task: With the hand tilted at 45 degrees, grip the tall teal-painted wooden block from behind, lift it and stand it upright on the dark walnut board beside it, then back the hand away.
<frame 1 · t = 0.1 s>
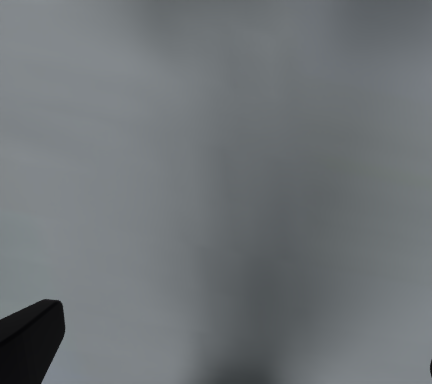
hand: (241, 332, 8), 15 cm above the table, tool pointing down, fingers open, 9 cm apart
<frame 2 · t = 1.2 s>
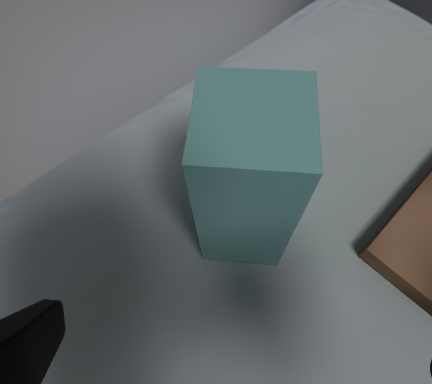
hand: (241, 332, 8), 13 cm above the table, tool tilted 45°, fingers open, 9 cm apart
teal block: (241, 227, 24), on the table
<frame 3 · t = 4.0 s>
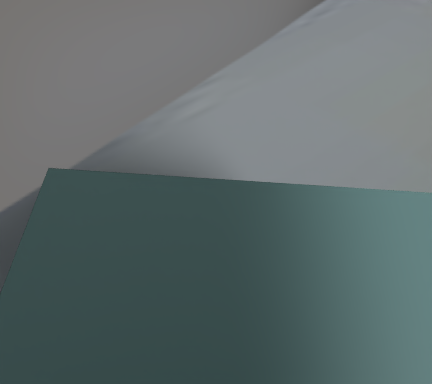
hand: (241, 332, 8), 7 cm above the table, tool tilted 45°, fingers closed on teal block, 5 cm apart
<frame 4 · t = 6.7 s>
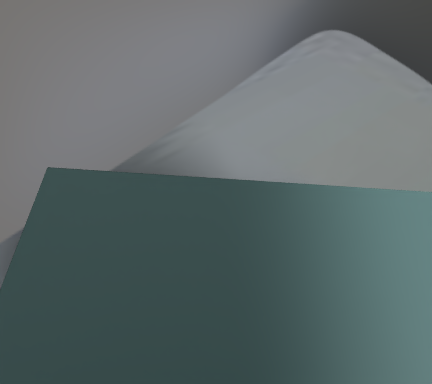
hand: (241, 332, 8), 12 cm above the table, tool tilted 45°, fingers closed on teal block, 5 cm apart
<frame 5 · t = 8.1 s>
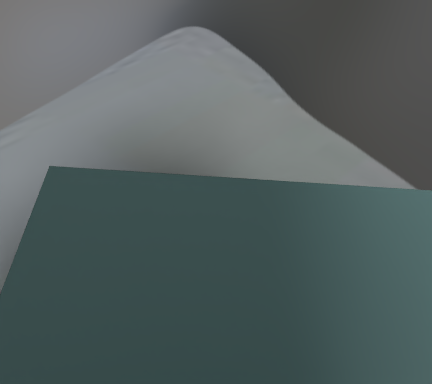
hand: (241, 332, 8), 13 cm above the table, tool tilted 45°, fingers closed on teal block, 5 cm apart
when the fingers open (9 cm above the table, at t = 9.3 s): teal block stays where it is, resting on walnut board.
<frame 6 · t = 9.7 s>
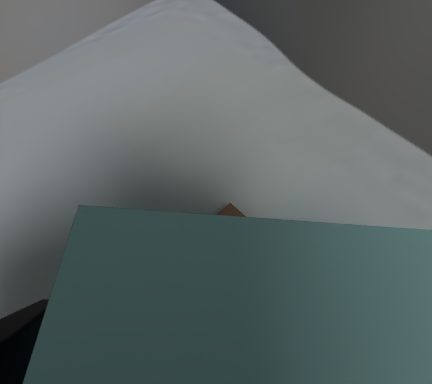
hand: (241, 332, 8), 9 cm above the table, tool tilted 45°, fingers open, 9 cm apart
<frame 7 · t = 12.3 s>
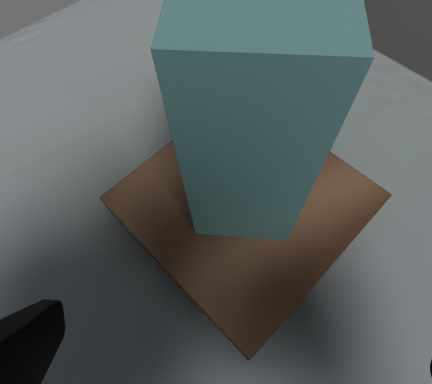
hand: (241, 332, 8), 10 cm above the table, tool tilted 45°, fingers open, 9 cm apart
teal block: (243, 196, 19), point 1 cm above the table, touching walnut board
walnut board: (242, 207, 21), on the table
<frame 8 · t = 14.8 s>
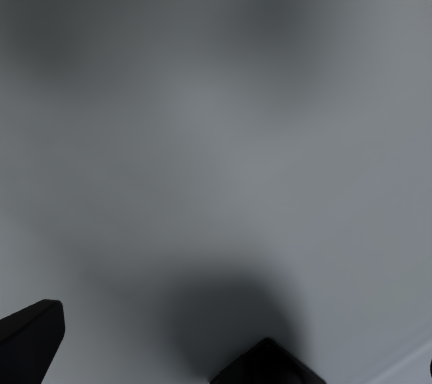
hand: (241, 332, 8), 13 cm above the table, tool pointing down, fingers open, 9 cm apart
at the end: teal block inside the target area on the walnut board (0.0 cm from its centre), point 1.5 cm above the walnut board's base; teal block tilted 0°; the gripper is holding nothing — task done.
